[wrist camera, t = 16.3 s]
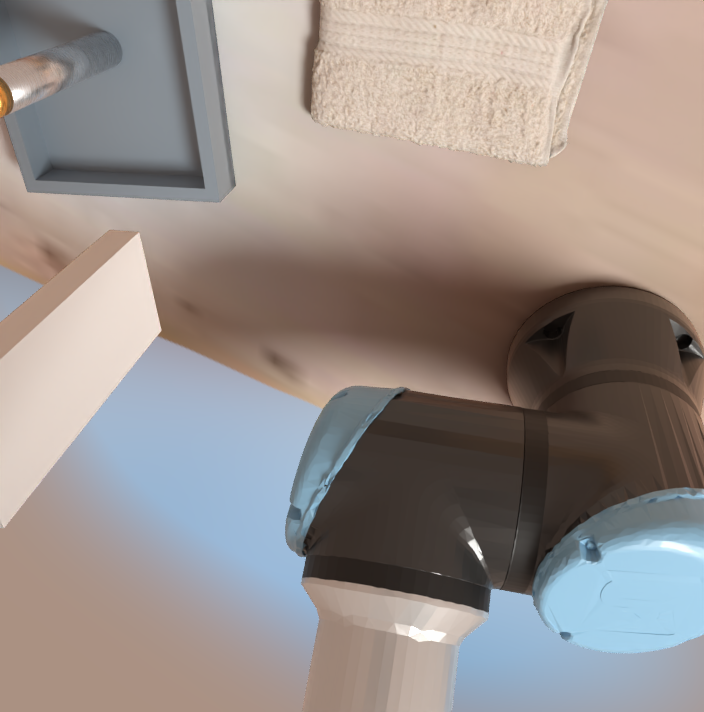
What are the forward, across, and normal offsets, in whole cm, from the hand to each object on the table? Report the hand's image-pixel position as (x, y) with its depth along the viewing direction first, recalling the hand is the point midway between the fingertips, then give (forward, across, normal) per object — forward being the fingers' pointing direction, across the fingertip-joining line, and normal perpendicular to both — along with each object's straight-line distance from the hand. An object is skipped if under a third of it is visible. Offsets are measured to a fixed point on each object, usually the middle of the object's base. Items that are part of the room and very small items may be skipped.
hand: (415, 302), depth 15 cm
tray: (+35, +26, +1) cm, 43 cm away
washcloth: (+36, +2, +1) cm, 36 cm away
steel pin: (+34, +26, +1) cm, 43 cm away
